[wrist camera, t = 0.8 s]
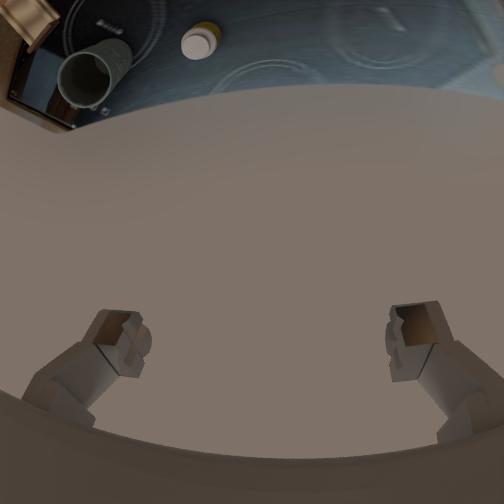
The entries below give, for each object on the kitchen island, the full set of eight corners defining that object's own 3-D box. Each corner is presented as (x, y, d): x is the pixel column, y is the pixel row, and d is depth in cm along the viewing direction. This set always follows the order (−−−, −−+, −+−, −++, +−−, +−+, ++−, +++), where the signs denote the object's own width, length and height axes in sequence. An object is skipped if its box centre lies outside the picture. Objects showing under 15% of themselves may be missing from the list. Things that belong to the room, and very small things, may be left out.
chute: (-18, -12, 22) (-29, -8, 20) (4, -44, 18) (-7, -42, 16) (37, 49, 39) (27, 55, 37) (63, 19, 35) (53, 23, 33)
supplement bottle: (228, 37, 43) (221, 51, 37) (202, 54, 45) (191, 71, 39) (209, 15, 39) (198, 24, 33) (183, 32, 41) (168, 45, 36)
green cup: (90, 80, 47) (60, 108, 40) (88, 34, 39) (54, 55, 32) (137, 80, 49) (112, 108, 41) (138, 32, 41) (110, 50, 33)
